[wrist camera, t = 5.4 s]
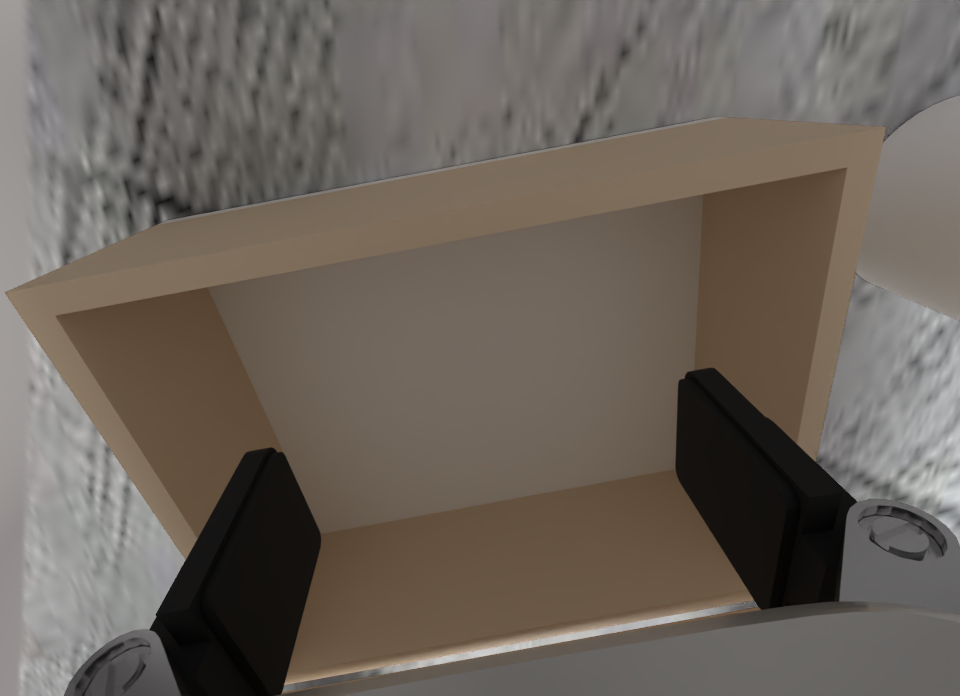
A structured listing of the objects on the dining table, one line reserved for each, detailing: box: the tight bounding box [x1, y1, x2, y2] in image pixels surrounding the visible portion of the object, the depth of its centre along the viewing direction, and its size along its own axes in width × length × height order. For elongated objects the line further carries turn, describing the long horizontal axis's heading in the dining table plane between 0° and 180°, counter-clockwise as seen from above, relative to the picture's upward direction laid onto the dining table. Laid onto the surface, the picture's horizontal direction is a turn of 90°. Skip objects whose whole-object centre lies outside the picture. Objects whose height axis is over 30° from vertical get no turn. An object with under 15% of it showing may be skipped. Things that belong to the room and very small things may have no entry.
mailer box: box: [5, 117, 886, 685], centre depth 19 cm, size 22×18×8 cm
